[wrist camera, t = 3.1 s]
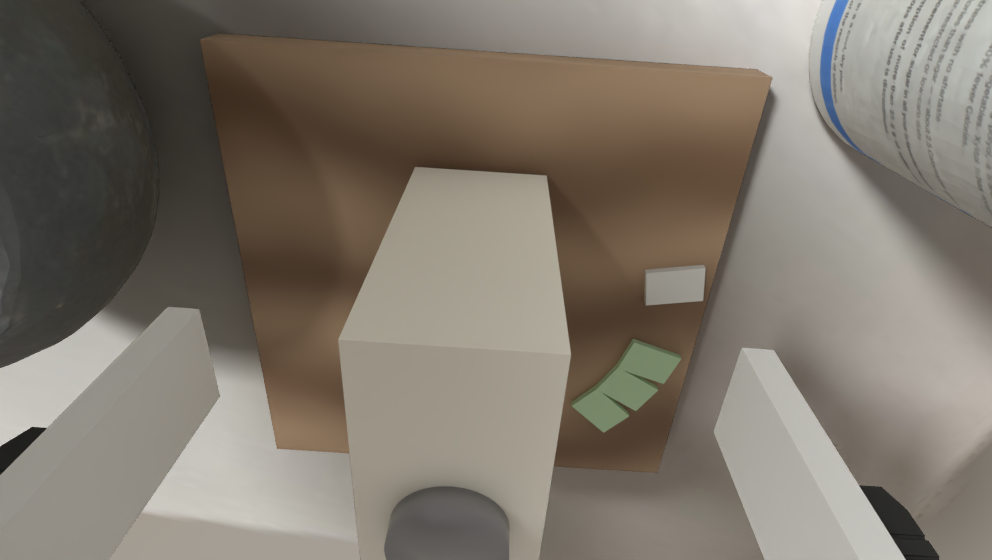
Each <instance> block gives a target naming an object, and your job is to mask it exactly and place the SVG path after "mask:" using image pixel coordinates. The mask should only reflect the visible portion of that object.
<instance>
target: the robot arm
mask: <svg viewBox="0 0 992 560" xmlns="http://www.w3.org/2000/svg"><path fill="white" fill-rule="evenodd" d="M219 397H220V394H219V390H218V386H217V381H216V377H215V373H214V369H213V365H212V360H211V356H210V352H209V348H208V343H207V339H206V335H205V331H204V326H203V322H202V318H201V314H200V309H192V308H178V307H167V308H166V309H165V310H164V311H163V312H162V313H161V314H160V315H159V316H158V317H157V318H156V319H155V320H154V321H153V322H152V323H151V324H150V325H149V326H148V327H147V328H146V329H145V330H144V331H143V332H142V333H141V334H140V335H139V336H138V337H137V338H136V339H135V340H134V341H133V342H132V343H131V344H130V345H129V346H128V347H127V348H126V349H125V350H124V351H123V352H122V353H121V354H120V355H119V356H118V357H117V358H116V359H115V360H114V361H113V362H112V363H111V364H110V365H109V366H108V367H107V368H106V369H105V370H104V372H103V373H102V374H101V375H100V376H99V377H98V378H97V379H96V380H95V381H94V382H93V383H92V384H91V385H90V386H89V387H88V388H87V389H86V390H85V391H84V392H83V393H82V394H81V395H80V396H79V397H78V398H77V399H76V400H75V401H74V402H73V403H72V404H71V405H70V406H69V407H68V408H67V409H66V410H65V411H64V412H63V413H62V414H61V415H60V416H59V417H58V418H57V419H56V420H55V421H54V422H53V423H52V424H51V425H50V426H49V427H48V428H39V427H31V428H30V429H28V430H27V431H25V432H23V433H22V434H20V435H18V436H17V437H15V438H13V439H12V440H10V441H8V442H7V443H5V444H3V445H2V446H1V447H0V560H109V559H110V557H111V556H112V554H113V553H114V552H115V550H116V549H117V547H118V546H119V544H120V543H121V541H122V540H123V538H124V537H125V535H126V534H127V532H128V531H129V529H130V528H131V526H132V525H133V524H134V522H135V521H136V519H137V518H138V516H139V515H140V513H141V512H142V510H143V509H144V507H145V506H146V504H147V503H148V501H149V500H150V499H151V497H152V496H153V494H154V493H155V491H156V490H157V488H158V487H159V485H160V484H161V482H162V481H163V479H164V478H165V476H166V475H167V473H168V472H169V471H170V469H171V468H172V466H173V465H174V463H175V462H176V460H177V459H178V457H179V456H180V454H181V453H182V451H183V450H184V448H185V447H186V445H187V444H188V443H189V441H190V440H191V438H192V437H193V435H194V434H195V432H196V431H197V429H198V428H199V426H200V425H201V423H202V422H203V420H204V419H205V417H206V416H207V415H208V413H209V412H210V410H211V409H212V407H213V406H214V404H215V403H216V401H217V400H218V398H219ZM714 434H715V437H716V439H717V442H718V444H719V447H720V449H721V452H722V454H723V457H724V459H725V462H726V464H727V467H728V470H729V472H730V475H731V477H732V480H733V482H734V485H735V487H736V490H737V492H738V495H739V497H740V500H741V502H742V505H743V507H744V510H745V512H746V515H747V517H748V520H749V522H750V525H751V527H752V530H753V532H754V535H755V537H756V540H757V542H758V545H759V547H760V550H761V552H762V555H763V557H764V560H939V556H938V554H937V553H936V551H935V550H934V548H933V547H932V545H931V544H930V543H929V541H926V540H925V538H924V536H925V535H924V534H923V532H922V531H921V529H920V528H919V527H918V525H917V524H916V522H915V521H914V519H913V518H912V516H911V515H910V513H909V512H908V511H907V509H905V508H904V507H903V506H902V505H901V504H900V503H899V502H898V501H896V500H895V499H894V498H893V497H892V496H891V495H890V494H889V493H887V492H886V491H885V490H884V489H883V488H882V487H874V486H861V485H858V483H857V482H856V480H855V478H854V477H853V475H852V474H851V472H850V470H849V469H848V467H847V466H846V464H845V463H844V461H843V459H842V458H841V456H840V455H839V453H838V451H837V450H836V448H835V447H834V445H833V443H832V442H831V440H830V439H829V437H828V436H827V434H826V432H825V431H824V429H823V428H822V426H821V424H820V423H819V421H818V420H817V418H816V416H815V415H814V413H813V412H812V410H811V409H810V407H809V405H808V404H807V402H806V401H805V399H804V397H803V396H802V394H801V393H800V391H799V390H798V388H797V386H796V385H795V383H794V382H793V380H792V378H791V377H790V375H789V374H788V372H787V370H786V369H785V367H784V366H783V364H782V363H781V361H780V359H779V358H778V356H777V355H776V353H775V351H774V350H767V349H753V348H741V351H740V354H739V357H738V360H737V363H736V366H735V369H734V372H733V375H732V378H731V381H730V384H729V387H728V390H727V393H726V396H725V399H724V402H723V405H722V408H721V411H720V414H719V417H718V420H717V423H716V426H715V429H714Z"/></svg>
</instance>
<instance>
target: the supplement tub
mask: <svg viewBox="0 0 992 560" xmlns="http://www.w3.org/2000/svg"><path fill="white" fill-rule="evenodd" d="M809 77H810V84H811V89H812V93H813V97H814V99H815V102H816V105H817V107H818V109H819V111H820V113H821V115H822V117H823V118H824V120H825V121H826V123H827V124H828V126H829V127H830V128H831V129H832V130H833V131H834V132H835V134H836V135H837V136H838V137H839V138H840V139H841V140H843V141H844V142H845V143H846V144H848V145H849V146H851V147H852V148H854V149H855V150H857V151H859V152H860V153H862V154H864V155H866V156H868V157H869V158H871V159H873V160H874V161H876V162H878V163H879V164H881V165H883V166H885V167H887V168H889V169H890V170H892V171H894V172H895V173H897V174H899V175H900V176H902V177H904V178H906V179H907V180H909V181H911V182H912V183H914V184H916V185H918V186H919V187H921V188H923V189H925V190H926V191H928V192H930V193H932V194H933V195H935V196H937V197H938V198H940V199H942V200H944V201H945V202H947V203H949V204H951V205H952V206H954V207H956V208H958V209H959V210H961V211H963V212H965V213H967V214H968V215H970V216H972V217H974V218H975V219H977V220H979V221H981V222H982V223H984V224H986V225H988V226H989V227H991V228H992V0H822V2H821V5H820V7H819V10H818V14H817V17H816V20H815V23H814V27H813V31H812V36H811V41H810V49H809Z"/></svg>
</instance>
